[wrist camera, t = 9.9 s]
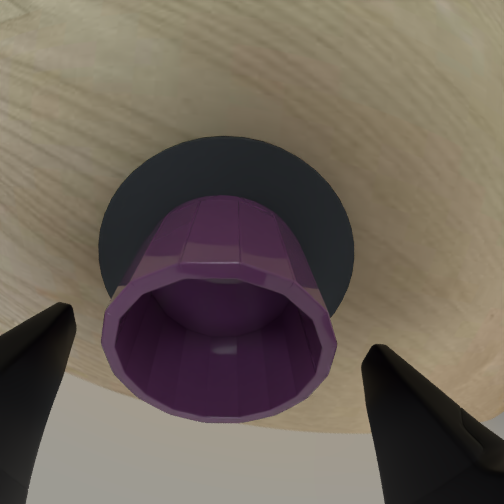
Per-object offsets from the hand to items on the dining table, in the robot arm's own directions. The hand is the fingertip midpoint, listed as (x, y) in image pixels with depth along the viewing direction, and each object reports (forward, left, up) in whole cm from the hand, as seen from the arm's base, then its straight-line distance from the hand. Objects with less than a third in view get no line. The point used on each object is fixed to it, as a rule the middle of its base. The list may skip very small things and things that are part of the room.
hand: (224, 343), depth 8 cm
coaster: (0, 0, -4) cm, 4 cm away
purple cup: (0, 0, -4) cm, 4 cm away
